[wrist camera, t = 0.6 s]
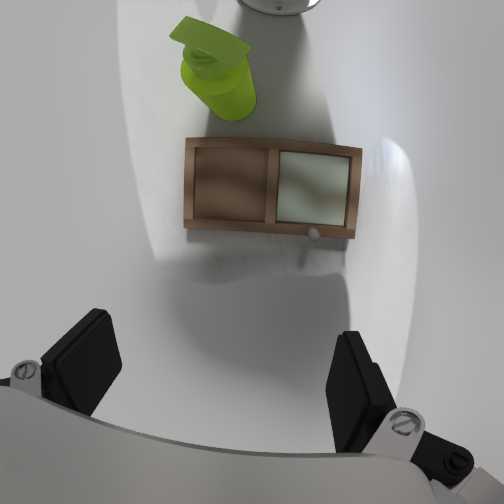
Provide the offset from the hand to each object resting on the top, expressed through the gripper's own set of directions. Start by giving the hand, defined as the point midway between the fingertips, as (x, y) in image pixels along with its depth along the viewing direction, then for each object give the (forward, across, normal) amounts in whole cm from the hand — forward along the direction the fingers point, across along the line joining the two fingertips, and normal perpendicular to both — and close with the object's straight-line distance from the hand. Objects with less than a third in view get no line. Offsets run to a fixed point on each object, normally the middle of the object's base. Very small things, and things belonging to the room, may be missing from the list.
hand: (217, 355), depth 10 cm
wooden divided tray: (+28, -2, -5) cm, 28 cm away
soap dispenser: (+28, +3, -16) cm, 32 cm away
